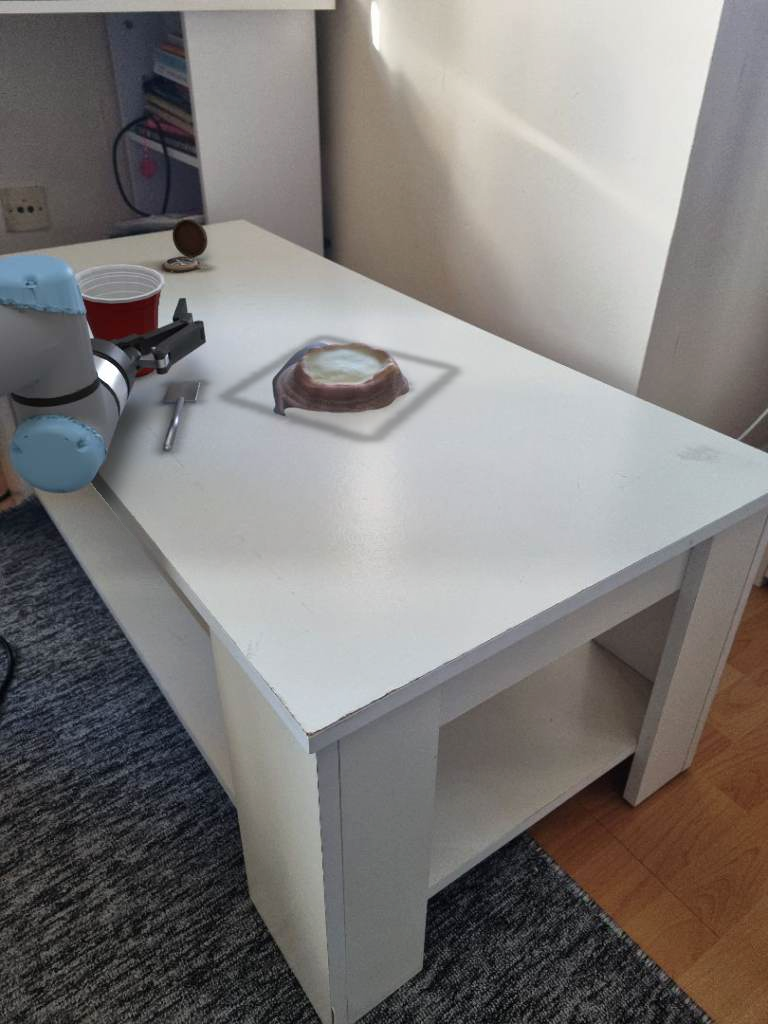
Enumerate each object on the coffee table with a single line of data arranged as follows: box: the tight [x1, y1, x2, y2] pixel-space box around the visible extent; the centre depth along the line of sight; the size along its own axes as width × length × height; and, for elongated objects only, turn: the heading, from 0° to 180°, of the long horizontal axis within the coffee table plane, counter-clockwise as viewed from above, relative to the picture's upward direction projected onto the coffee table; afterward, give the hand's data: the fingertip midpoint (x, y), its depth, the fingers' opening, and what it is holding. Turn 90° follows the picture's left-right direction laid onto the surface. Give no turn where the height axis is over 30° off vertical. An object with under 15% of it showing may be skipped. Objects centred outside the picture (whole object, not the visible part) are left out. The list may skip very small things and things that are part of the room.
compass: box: [161, 217, 210, 274], centre depth 132 cm, size 8×8×7 cm
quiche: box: [271, 342, 410, 417], centre depth 96 cm, size 21×20×4 cm
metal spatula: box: [161, 381, 201, 453], centre depth 90 cm, size 4×16×1 cm, turn 5°
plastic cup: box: [75, 263, 166, 378], centre depth 97 cm, size 11×11×12 cm
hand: (128, 309), depth 99 cm, fingers open, 13 cm apart
